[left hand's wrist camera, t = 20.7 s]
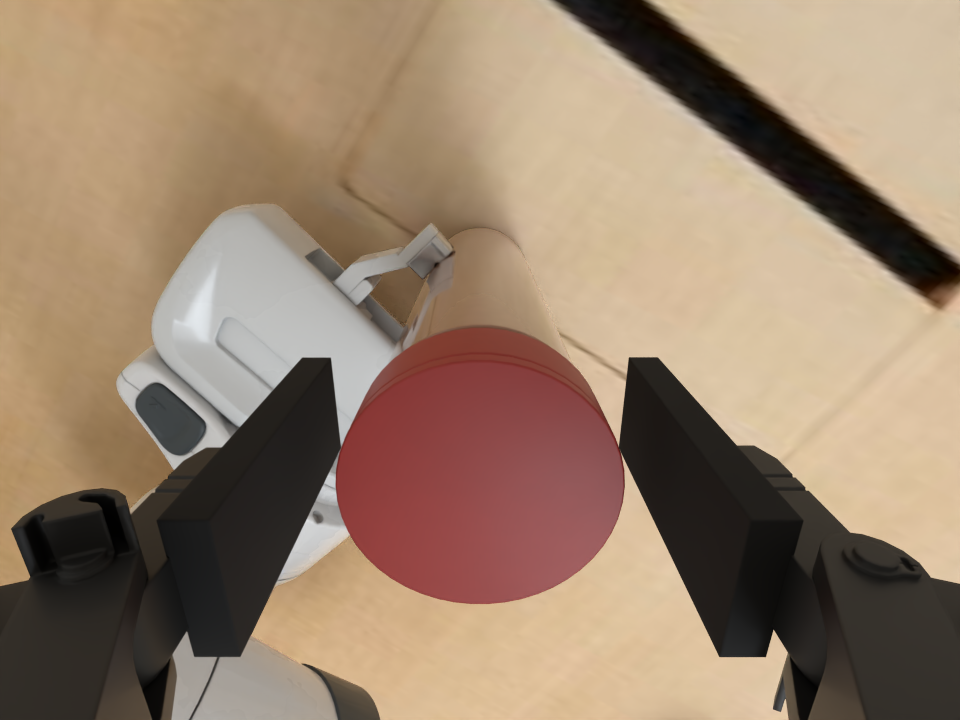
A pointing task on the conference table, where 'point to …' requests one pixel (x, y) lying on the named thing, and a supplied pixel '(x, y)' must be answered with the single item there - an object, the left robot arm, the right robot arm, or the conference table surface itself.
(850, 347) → the conference table surface
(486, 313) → the jar
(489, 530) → the lid
